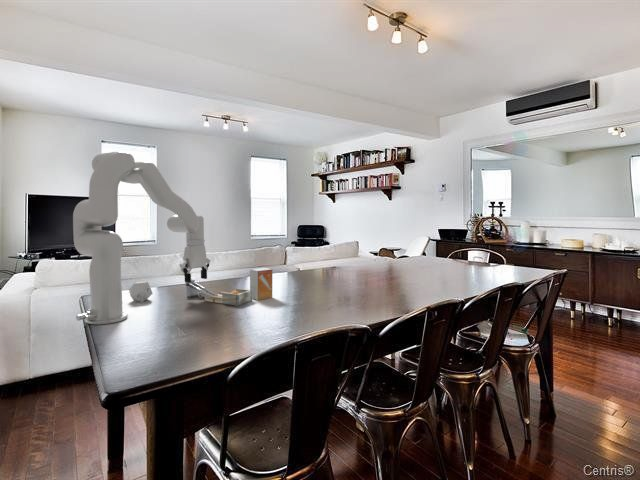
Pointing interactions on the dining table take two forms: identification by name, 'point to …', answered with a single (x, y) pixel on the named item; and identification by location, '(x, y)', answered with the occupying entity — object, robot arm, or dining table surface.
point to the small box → (261, 283)
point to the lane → (231, 297)
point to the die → (140, 291)
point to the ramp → (193, 290)
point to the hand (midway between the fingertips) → (196, 280)
